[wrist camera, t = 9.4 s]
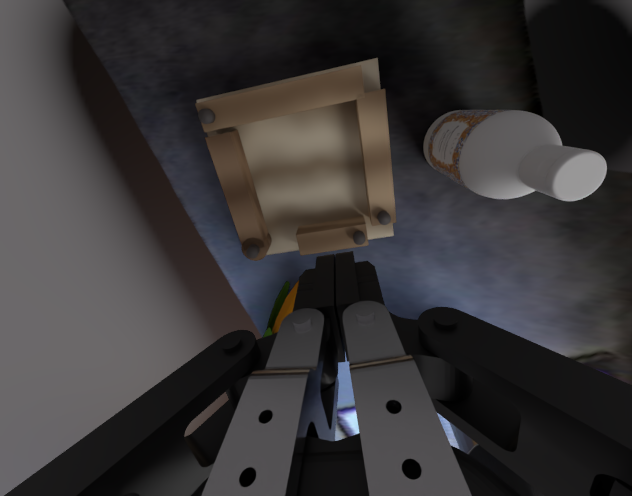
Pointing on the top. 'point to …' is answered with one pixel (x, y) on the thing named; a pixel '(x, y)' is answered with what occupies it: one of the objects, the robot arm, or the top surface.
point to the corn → (281, 308)
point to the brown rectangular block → (240, 193)
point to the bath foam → (510, 155)
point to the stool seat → (314, 155)
